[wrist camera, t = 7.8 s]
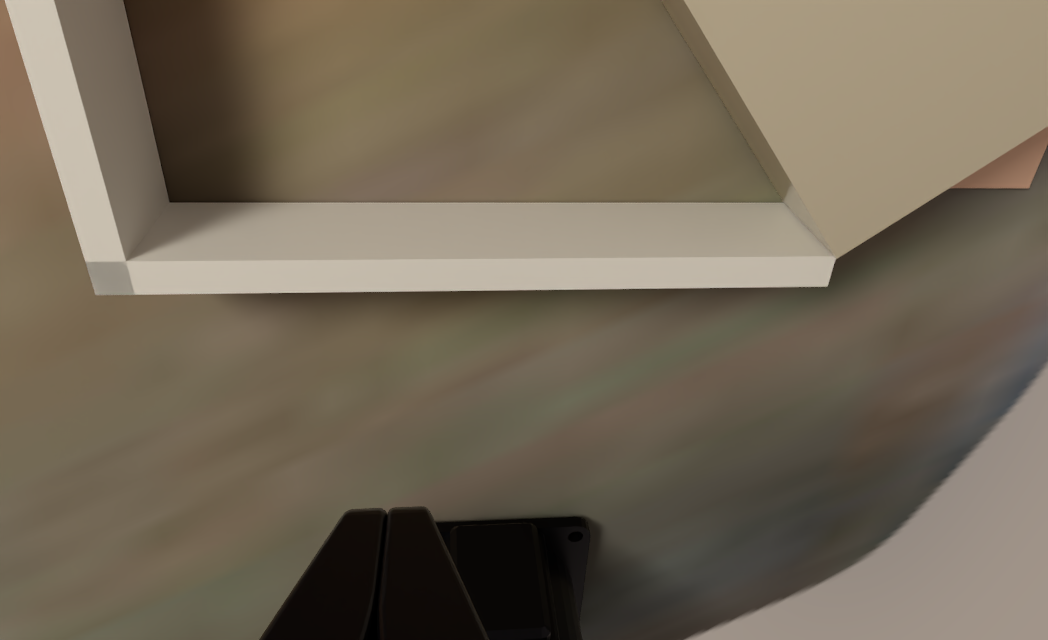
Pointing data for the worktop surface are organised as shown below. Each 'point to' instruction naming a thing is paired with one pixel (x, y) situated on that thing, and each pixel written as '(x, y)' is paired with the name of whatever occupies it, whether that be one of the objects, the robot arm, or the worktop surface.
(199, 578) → the worktop surface
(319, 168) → the worktop surface
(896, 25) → the electrical outlet
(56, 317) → the worktop surface
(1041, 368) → the worktop surface
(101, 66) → the white rectangular open frame
